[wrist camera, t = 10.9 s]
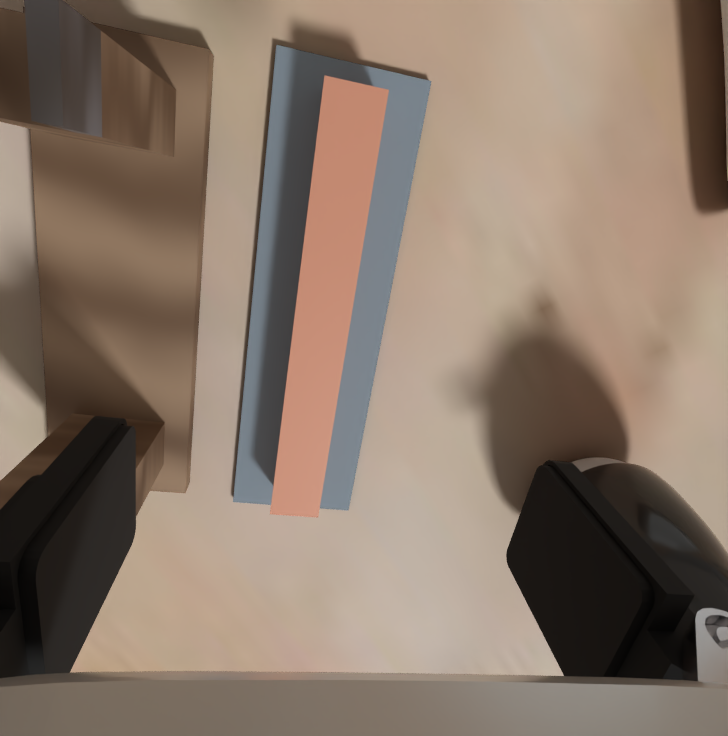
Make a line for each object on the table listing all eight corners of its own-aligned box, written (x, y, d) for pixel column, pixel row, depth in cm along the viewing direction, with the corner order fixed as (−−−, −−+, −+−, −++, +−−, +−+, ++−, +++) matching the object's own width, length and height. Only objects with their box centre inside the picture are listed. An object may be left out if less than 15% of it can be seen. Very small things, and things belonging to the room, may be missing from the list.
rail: (322, 89, 24) (324, 75, 21) (379, 101, 24) (389, 89, 21) (273, 485, 32) (269, 514, 29) (317, 489, 32) (317, 517, 29)
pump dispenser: (487, 475, 34) (616, 677, 20) (619, 412, 33) (849, 574, 19) (530, 568, 38) (665, 795, 23) (650, 513, 37) (862, 711, 23)
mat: (276, 47, 23) (276, 44, 23) (429, 82, 25) (431, 81, 24) (233, 498, 32) (233, 502, 32) (347, 506, 33) (348, 510, 33)
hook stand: (37, 16, 22) (-278, -191, 10) (213, 55, 23) (117, -86, 11) (60, 472, 30) (-99, 651, 18) (189, 482, 31) (118, 655, 20)
